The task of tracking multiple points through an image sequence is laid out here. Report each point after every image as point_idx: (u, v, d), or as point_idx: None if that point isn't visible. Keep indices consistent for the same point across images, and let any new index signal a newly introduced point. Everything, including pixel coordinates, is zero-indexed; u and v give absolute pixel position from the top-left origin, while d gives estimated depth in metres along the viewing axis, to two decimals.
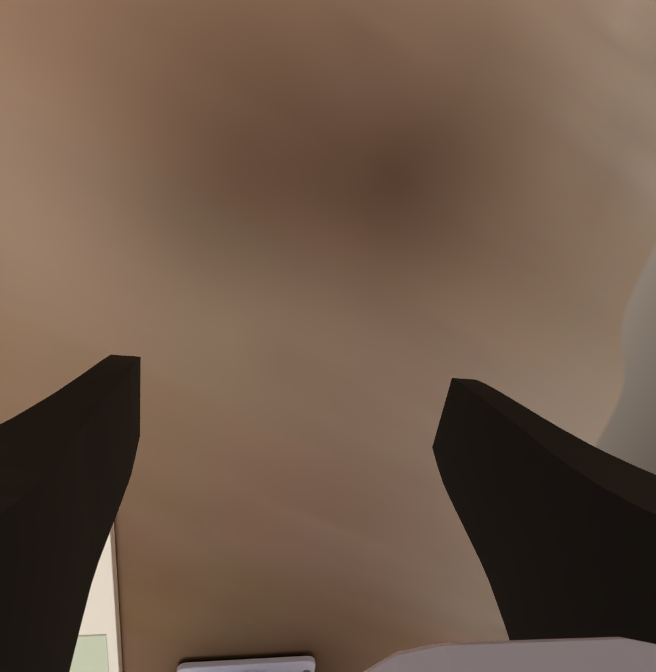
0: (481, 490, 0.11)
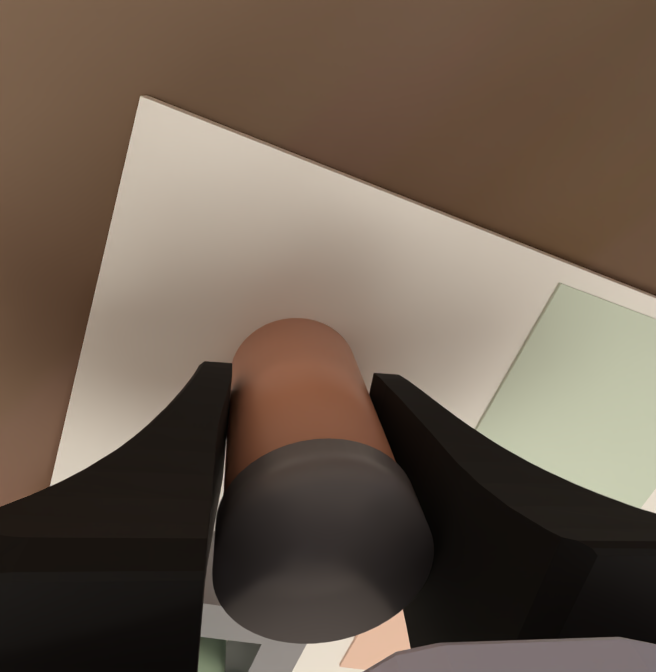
0: None
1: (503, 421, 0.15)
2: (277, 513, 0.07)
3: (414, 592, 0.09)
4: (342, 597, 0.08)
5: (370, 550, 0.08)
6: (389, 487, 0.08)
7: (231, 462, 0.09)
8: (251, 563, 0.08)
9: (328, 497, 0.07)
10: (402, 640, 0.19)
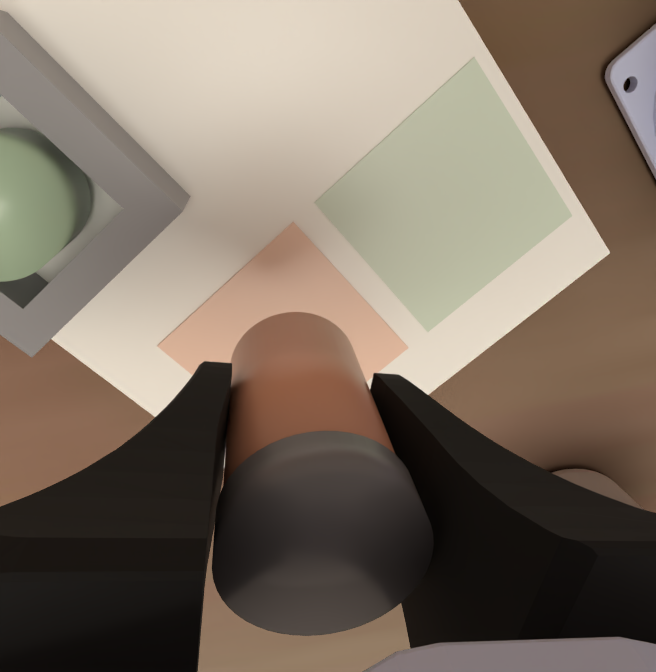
0: None
1: (388, 159, 0.18)
2: (273, 507, 0.07)
3: (416, 581, 0.09)
4: (344, 588, 0.08)
5: (369, 540, 0.08)
6: (384, 477, 0.08)
7: (229, 458, 0.09)
8: (250, 557, 0.08)
9: (323, 489, 0.07)
10: (221, 348, 0.21)
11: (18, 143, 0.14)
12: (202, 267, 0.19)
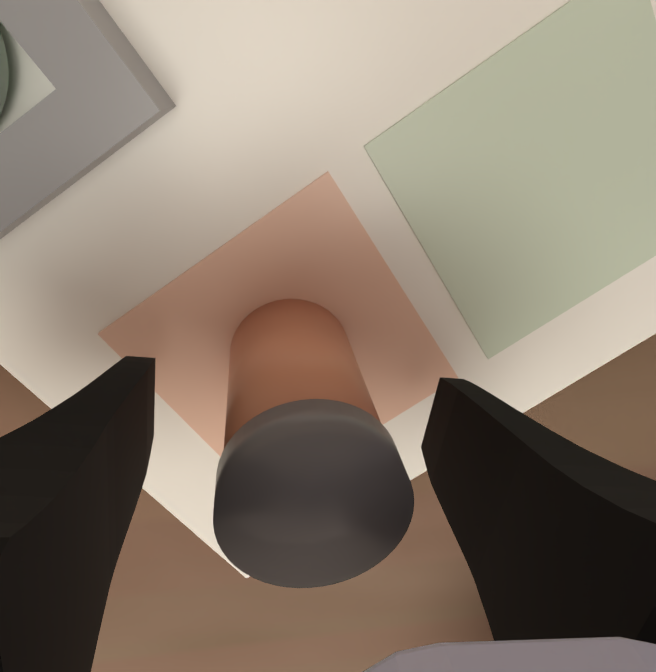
0: (467, 490, 0.11)
1: (483, 96, 0.12)
2: (267, 464, 0.08)
3: (399, 537, 0.09)
4: (333, 542, 0.09)
5: (355, 497, 0.09)
6: (368, 437, 0.08)
7: (229, 427, 0.10)
8: (247, 512, 0.09)
9: (312, 448, 0.08)
10: (194, 348, 0.14)
11: None
12: (181, 222, 0.12)
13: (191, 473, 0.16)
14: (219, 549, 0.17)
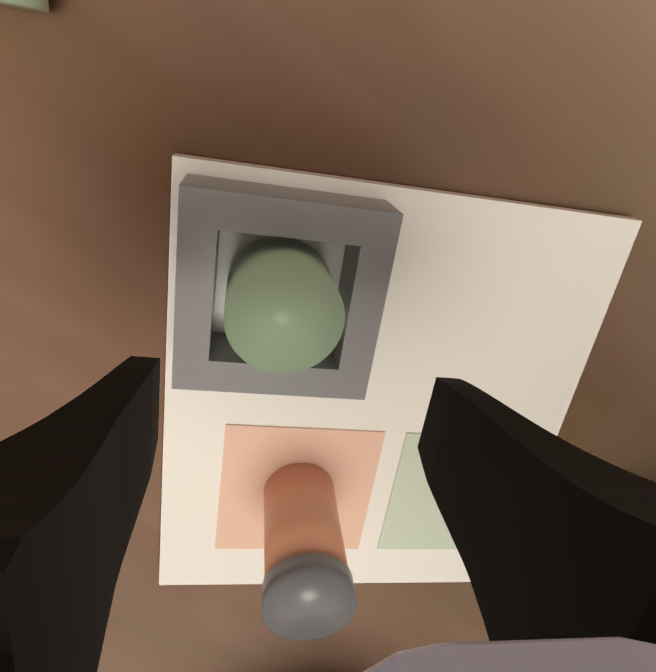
0: (463, 490, 0.11)
1: None
2: (315, 582, 0.18)
3: (329, 634, 0.19)
4: (305, 622, 0.19)
5: (330, 611, 0.19)
6: (354, 592, 0.19)
7: (288, 541, 0.20)
8: (289, 594, 0.18)
9: (335, 586, 0.18)
10: (259, 459, 0.23)
11: None
12: (309, 408, 0.22)
13: (193, 513, 0.24)
14: (163, 560, 0.25)
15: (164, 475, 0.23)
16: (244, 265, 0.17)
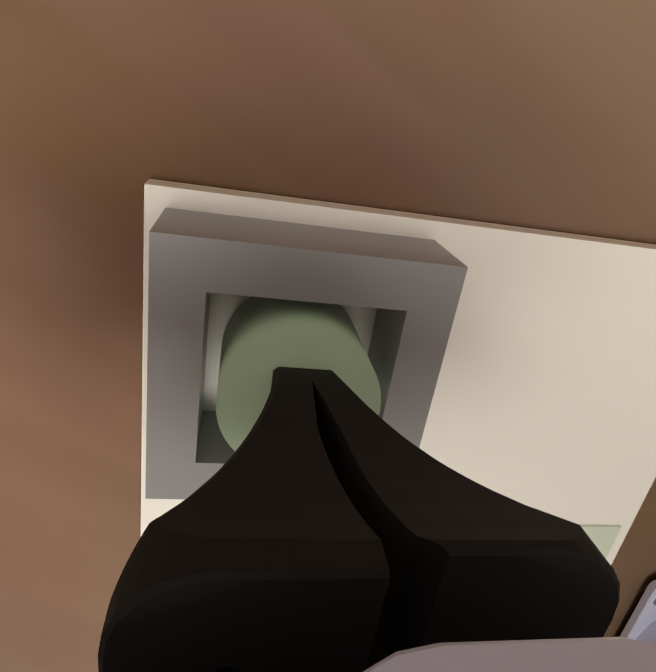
0: None
1: None
2: None
3: None
4: None
5: None
6: None
7: None
8: None
9: None
10: None
11: None
12: None
13: None
14: None
15: None
16: (244, 330, 0.12)
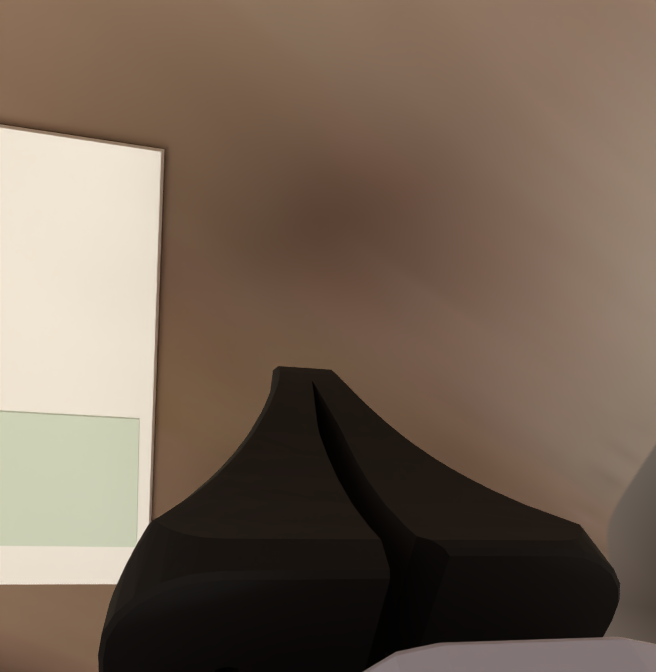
0: None
1: (29, 427, 0.21)
2: None
3: None
4: None
5: None
6: None
7: None
8: None
9: None
10: None
11: None
12: None
13: None
14: None
15: None
16: None
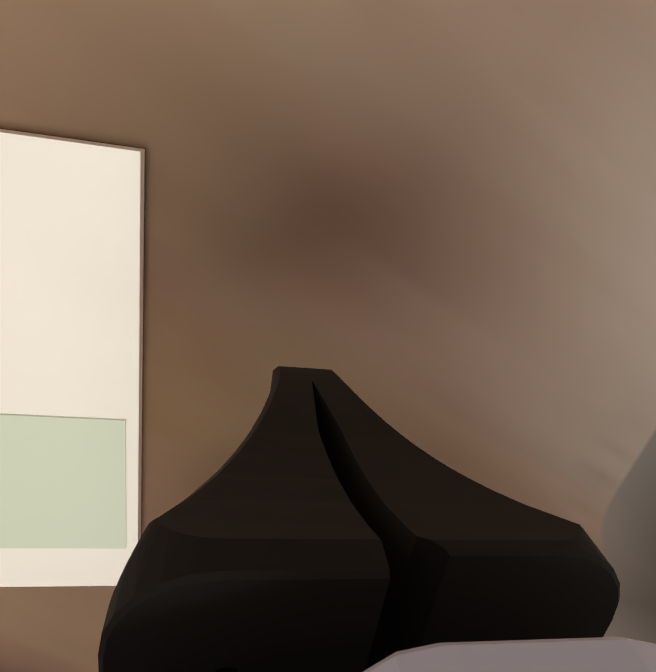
0: None
1: (15, 429, 0.21)
2: None
3: None
4: None
5: None
6: None
7: None
8: None
9: None
10: None
11: None
12: None
13: None
14: None
15: None
16: None
